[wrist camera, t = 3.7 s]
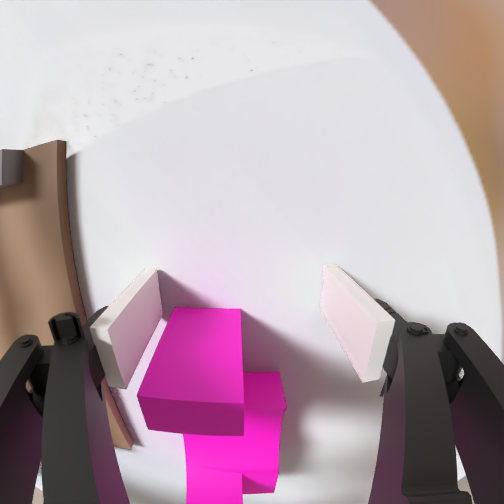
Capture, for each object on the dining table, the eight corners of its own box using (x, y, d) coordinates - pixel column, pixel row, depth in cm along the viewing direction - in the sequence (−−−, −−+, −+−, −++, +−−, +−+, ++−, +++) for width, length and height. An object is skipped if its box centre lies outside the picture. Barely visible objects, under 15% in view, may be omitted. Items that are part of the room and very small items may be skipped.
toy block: (268, 452, 19) (277, 521, 12) (197, 452, 19) (191, 521, 12) (284, 307, 16) (317, 398, 8) (175, 305, 15) (136, 395, 8)
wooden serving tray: (14, 405, 17) (3, 421, 15) (-50, 183, 11) (-71, 187, 9) (133, 441, 18) (125, 466, 15) (66, 141, 12) (35, 136, 9)
